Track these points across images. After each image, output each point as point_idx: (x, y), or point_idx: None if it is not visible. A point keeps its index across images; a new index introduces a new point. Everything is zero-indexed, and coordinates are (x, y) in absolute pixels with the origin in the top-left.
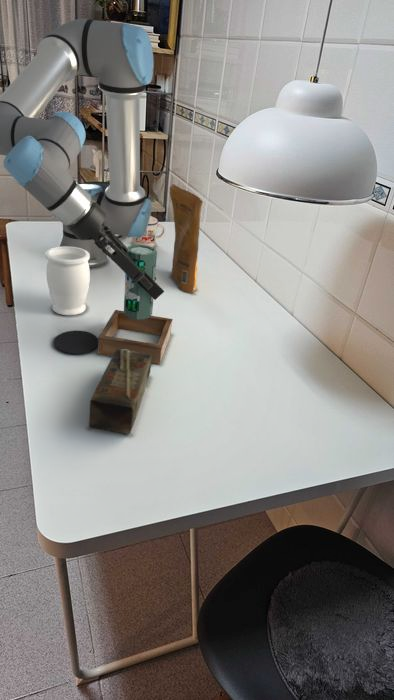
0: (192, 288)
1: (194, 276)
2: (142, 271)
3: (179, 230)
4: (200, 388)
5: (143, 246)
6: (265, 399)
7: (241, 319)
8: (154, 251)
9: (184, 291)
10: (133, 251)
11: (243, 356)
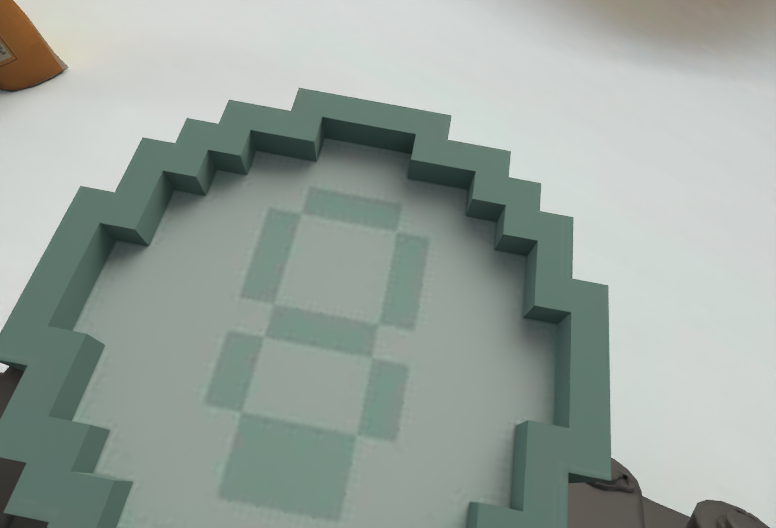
0: (49, 54)
1: (15, 4)
2: (632, 489)
3: None
4: (701, 356)
5: (150, 217)
6: (767, 203)
7: (317, 30)
8: (455, 153)
9: (30, 86)
10: (284, 505)
11: (536, 138)
